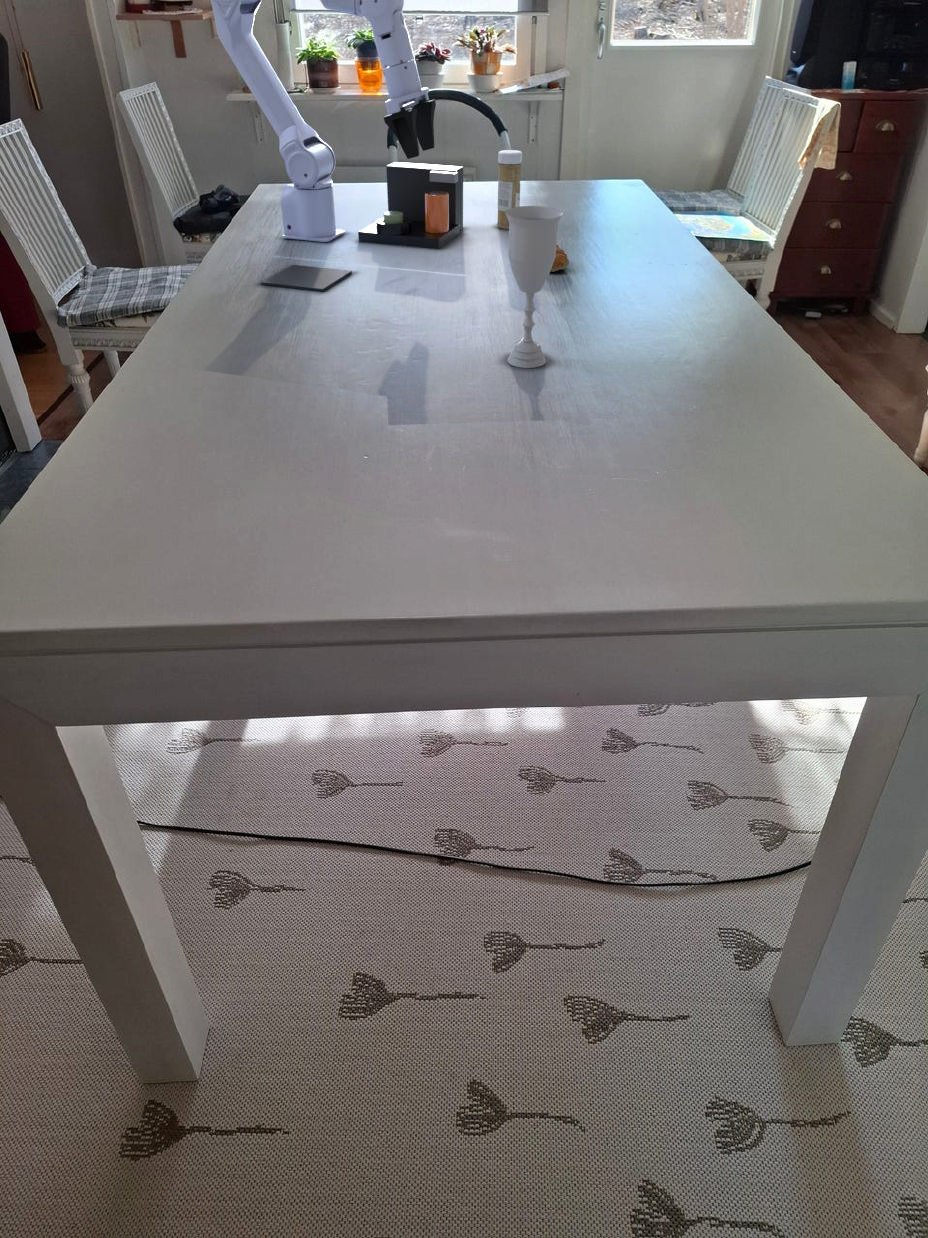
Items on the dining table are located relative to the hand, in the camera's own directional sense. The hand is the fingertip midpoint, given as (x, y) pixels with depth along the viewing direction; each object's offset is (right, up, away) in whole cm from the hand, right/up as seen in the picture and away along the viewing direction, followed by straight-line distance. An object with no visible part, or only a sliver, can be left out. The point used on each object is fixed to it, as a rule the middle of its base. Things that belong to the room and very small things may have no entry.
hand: (421, 153), depth 153 cm
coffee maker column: (0, -5, +18) cm, 19 cm away
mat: (-18, -26, -10) cm, 33 cm away
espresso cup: (+2, -9, +10) cm, 14 cm away
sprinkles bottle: (+16, -4, +20) cm, 26 cm away
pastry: (+22, -21, -2) cm, 30 cm away
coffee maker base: (-3, -10, +12) cm, 16 cm away
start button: (-6, -8, +9) cm, 13 cm away
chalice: (+16, -48, -39) cm, 64 cm away
